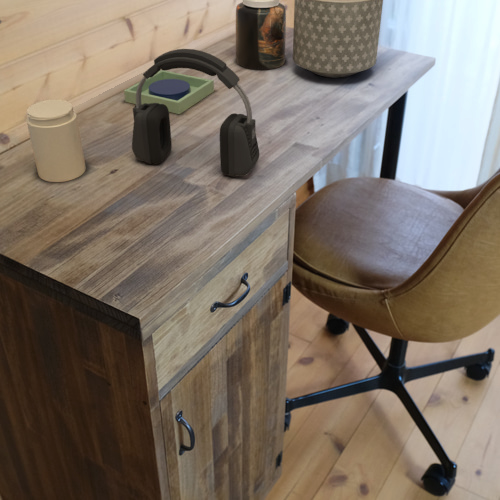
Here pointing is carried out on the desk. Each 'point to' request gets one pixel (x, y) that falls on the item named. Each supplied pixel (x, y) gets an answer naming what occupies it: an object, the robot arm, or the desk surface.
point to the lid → (170, 89)
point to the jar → (260, 34)
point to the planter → (336, 35)
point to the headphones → (158, 122)
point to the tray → (198, 92)
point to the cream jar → (55, 140)
